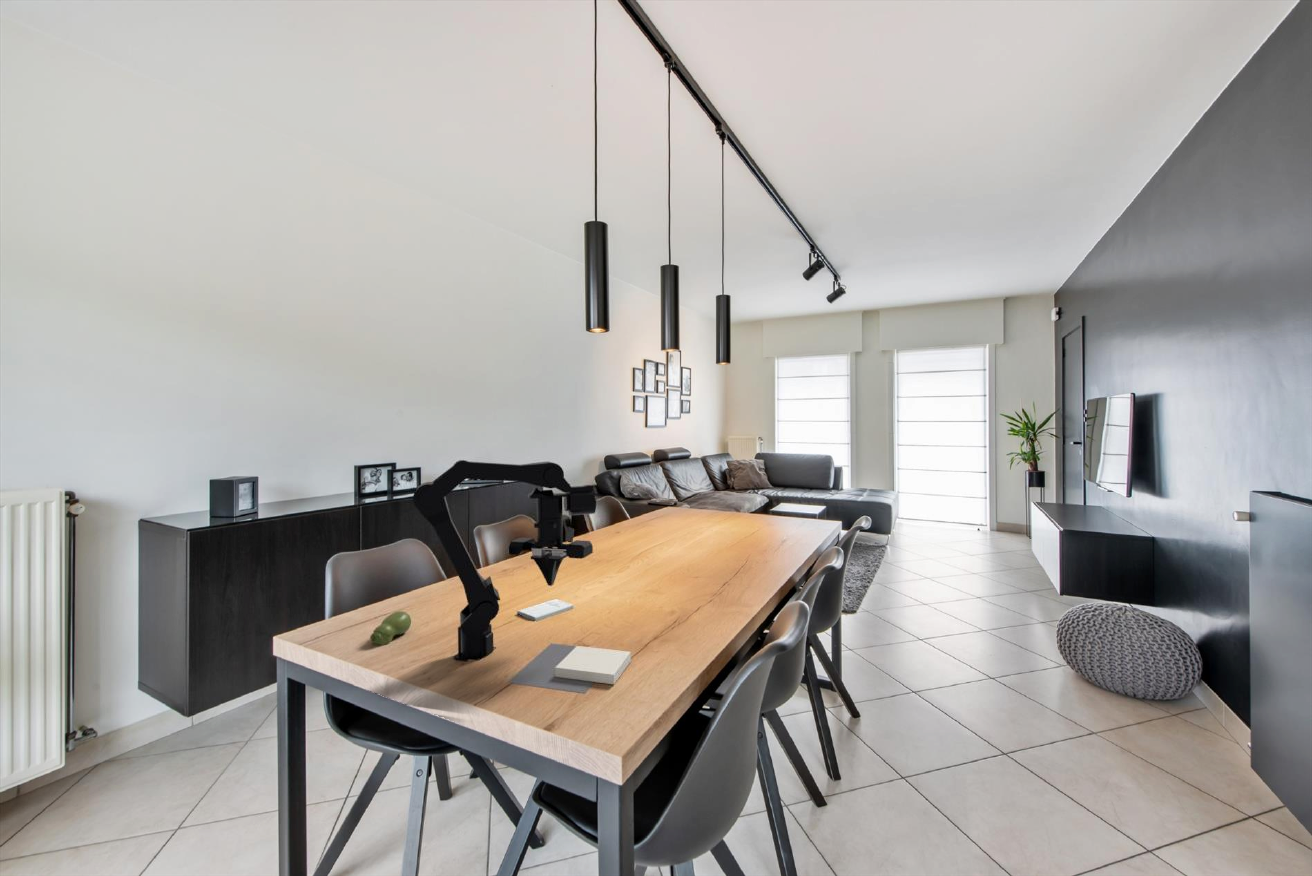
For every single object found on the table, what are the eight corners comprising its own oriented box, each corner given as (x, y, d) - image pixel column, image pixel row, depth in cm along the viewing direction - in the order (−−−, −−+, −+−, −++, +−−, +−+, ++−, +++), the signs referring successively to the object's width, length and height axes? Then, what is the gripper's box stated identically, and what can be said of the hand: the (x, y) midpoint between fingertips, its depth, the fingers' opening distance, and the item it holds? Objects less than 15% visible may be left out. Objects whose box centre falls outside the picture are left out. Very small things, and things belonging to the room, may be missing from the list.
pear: (414, 608, 121) (382, 631, 111) (417, 628, 122) (386, 652, 112) (395, 606, 122) (362, 628, 113) (398, 626, 123) (365, 649, 113)
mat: (506, 685, 94) (506, 682, 94) (551, 646, 111) (551, 643, 111) (585, 696, 90) (585, 693, 90) (618, 653, 107) (618, 651, 107)
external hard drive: (517, 616, 131) (554, 603, 141) (535, 623, 126) (573, 610, 135) (516, 610, 131) (554, 598, 141) (535, 617, 126) (573, 604, 135)
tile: (555, 667, 96) (613, 674, 92) (577, 645, 105) (630, 651, 102) (555, 677, 96) (614, 685, 92) (577, 655, 105) (630, 661, 102)
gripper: (601, 512, 118) (602, 578, 119) (531, 510, 123) (532, 573, 124) (582, 520, 108) (583, 592, 108) (506, 517, 113) (507, 586, 113)
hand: (550, 585), depth 113 cm, fingers closed
